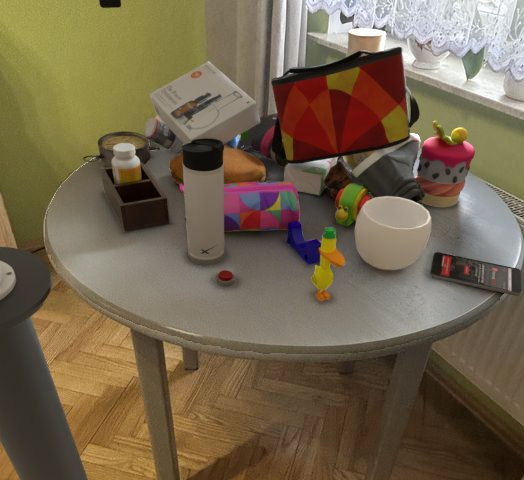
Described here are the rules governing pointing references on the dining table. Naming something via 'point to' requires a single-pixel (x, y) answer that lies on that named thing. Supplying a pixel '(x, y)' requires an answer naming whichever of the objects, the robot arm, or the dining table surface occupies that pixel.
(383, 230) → the cup
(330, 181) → the artifact
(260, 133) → the dark grey pouch
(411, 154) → the sneaker
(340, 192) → the green red striped toy
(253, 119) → the skincare box
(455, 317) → the dining table surface
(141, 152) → the alarm clock
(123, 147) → the supplement bottle
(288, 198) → the pencil case
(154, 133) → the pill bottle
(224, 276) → the push button
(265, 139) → the shoe
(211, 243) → the travel mug
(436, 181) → the cake
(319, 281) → the toy figure
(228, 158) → the pancake
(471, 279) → the smartphone
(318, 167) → the ink box
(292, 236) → the cable holder
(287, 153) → the bag
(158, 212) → the rack
